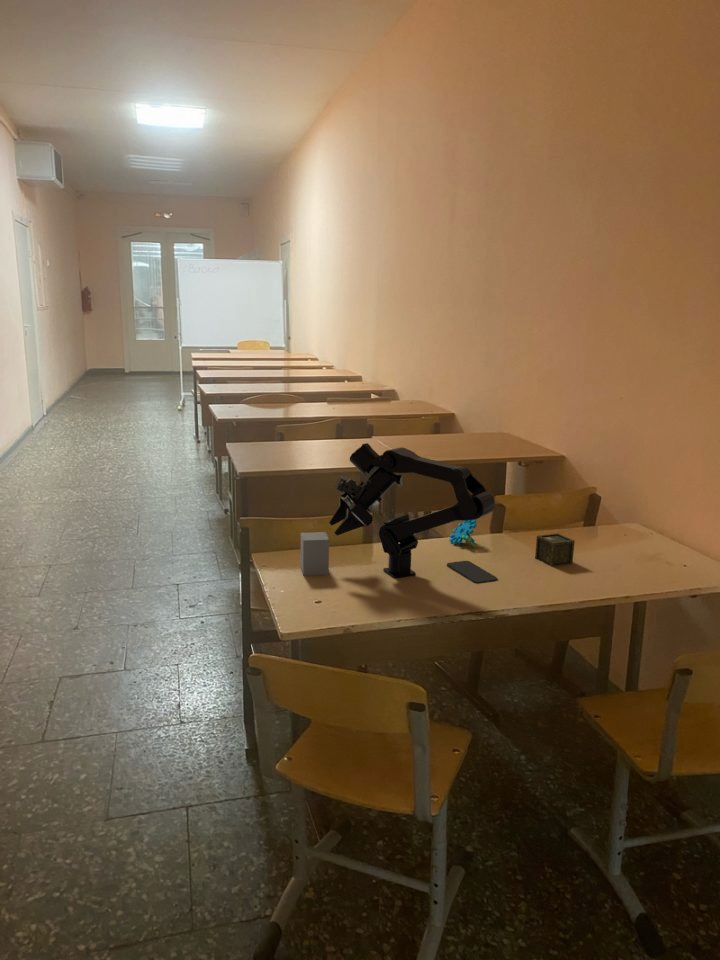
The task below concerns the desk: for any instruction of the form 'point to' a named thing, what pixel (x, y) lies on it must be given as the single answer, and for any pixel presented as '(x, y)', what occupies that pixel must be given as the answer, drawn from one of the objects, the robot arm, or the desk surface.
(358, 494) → the robot arm
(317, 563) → the grey rectangular block
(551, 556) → the wooden crate
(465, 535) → the blue green lobed piece
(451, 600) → the desk surface
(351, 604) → the desk surface
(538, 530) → the desk surface
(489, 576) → the phone
